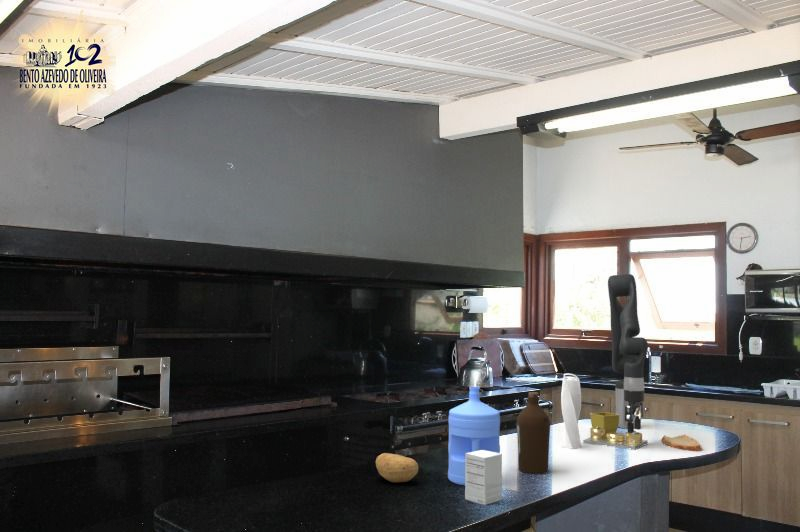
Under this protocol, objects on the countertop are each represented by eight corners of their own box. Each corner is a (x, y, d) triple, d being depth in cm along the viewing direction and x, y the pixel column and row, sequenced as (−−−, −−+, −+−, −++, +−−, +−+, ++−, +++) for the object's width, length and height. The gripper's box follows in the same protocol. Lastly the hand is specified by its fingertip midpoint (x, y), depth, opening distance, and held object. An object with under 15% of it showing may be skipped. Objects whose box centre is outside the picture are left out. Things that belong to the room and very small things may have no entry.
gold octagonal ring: (629, 440, 275) (629, 431, 275) (643, 442, 271) (643, 432, 272) (624, 442, 270) (624, 433, 270) (639, 444, 267) (638, 434, 267)
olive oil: (552, 468, 229) (552, 391, 231) (546, 475, 219) (547, 395, 221) (520, 465, 233) (520, 389, 235) (513, 472, 223) (513, 393, 225)
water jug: (446, 474, 220) (447, 384, 222) (497, 475, 219) (497, 385, 221) (448, 486, 204) (449, 389, 206) (502, 487, 204) (503, 390, 205)
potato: (406, 489, 201) (407, 460, 201) (368, 481, 209) (368, 454, 210) (425, 482, 209) (426, 455, 209) (388, 475, 217) (388, 449, 218)
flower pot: (589, 434, 294) (589, 412, 295) (605, 433, 298) (605, 411, 298) (603, 438, 286) (603, 415, 287) (620, 436, 290) (620, 414, 290)
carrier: (598, 437, 287) (598, 423, 288) (647, 443, 275) (647, 429, 276) (583, 443, 274) (583, 428, 275) (634, 449, 263) (634, 434, 263)
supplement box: (481, 495, 196) (482, 449, 196) (502, 500, 190) (502, 453, 191) (464, 499, 191) (464, 452, 191) (485, 505, 185) (485, 457, 186)
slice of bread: (699, 453, 260) (699, 443, 260) (651, 446, 272) (651, 436, 272) (714, 446, 274) (714, 436, 274) (667, 440, 285) (667, 430, 286)
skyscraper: (573, 450, 261) (572, 374, 262) (556, 446, 266) (556, 372, 268) (585, 447, 266) (585, 373, 267) (568, 444, 271) (568, 371, 273)
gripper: (630, 386, 280) (630, 427, 279) (618, 389, 269) (618, 432, 268) (649, 387, 276) (649, 429, 275) (637, 391, 264) (638, 434, 263)
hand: (634, 430), depth 271 cm, fingers open, 8 cm apart
